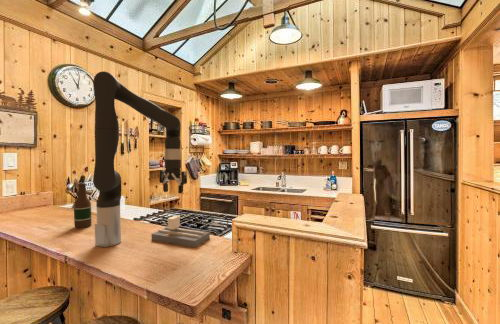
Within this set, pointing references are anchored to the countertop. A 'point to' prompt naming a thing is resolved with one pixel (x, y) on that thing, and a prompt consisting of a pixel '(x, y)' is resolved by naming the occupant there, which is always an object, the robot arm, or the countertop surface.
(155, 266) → the countertop surface
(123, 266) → the countertop surface
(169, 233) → the console
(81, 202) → the beer bottle
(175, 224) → the fader tab
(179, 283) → the countertop surface
